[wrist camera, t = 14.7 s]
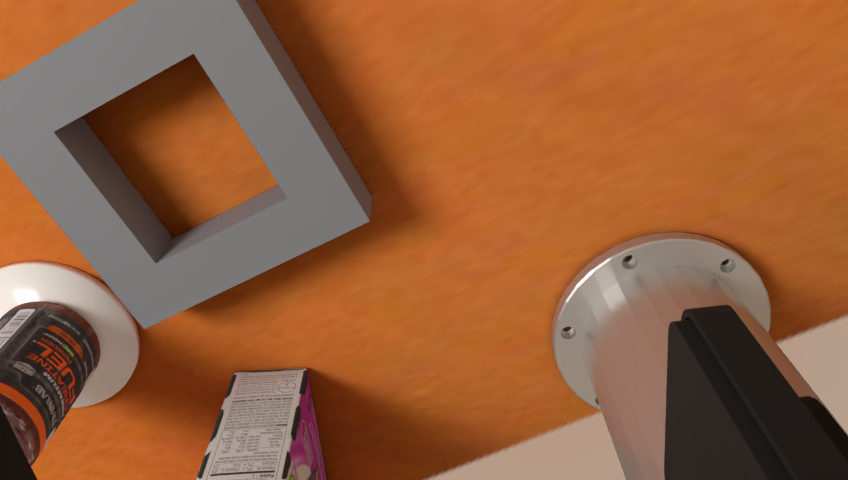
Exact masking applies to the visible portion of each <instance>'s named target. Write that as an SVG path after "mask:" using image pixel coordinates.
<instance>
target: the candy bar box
mask: <svg viewBox="0 0 848 480" xmlns="http://www.w3.org/2000/svg"><path fill="white" fill-rule="evenodd" d="M196 480H327V476H326V470H325V465H324V461H323V455H322V450H321V444H320V438H319V432H318V427H317V421H316V415H315V409H314V404H313V398H312V393H311V387H310V381H309V375H308V369H307V368H287V369H281V370H269V371H246V372H235V373H233V376H232V379H231V382H230V385H229V388H228V391H227V393H226V396H225V399H224V402H223V404H222V407H221V410H220V413H219V416H218V419H217V421H216V424H215V427H214V430H213V433H212V436H211V439H210V442H209V445H208V448H207V450H206V453H205V456H204V459H203V462H202V465H201V468H200V470H199V472H198V475H197V478H196Z"/></svg>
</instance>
